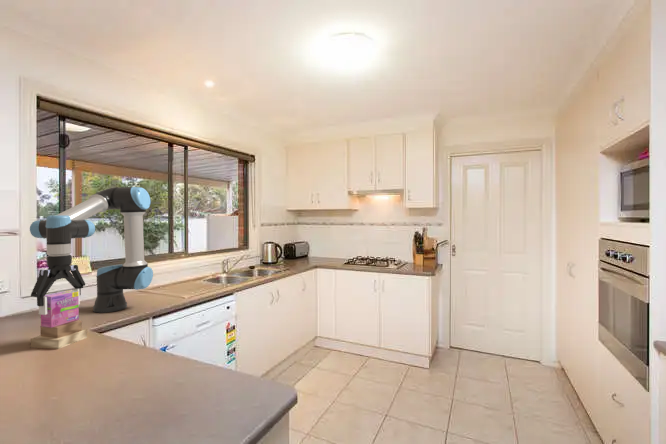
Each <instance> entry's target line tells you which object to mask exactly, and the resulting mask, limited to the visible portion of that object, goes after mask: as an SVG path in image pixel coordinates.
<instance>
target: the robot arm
mask: <svg viewBox="0 0 666 444" xmlns="http://www.w3.org/2000/svg"><path fill="white" fill-rule="evenodd" d="M150 206H151V196H150V194H149V192H148V191H147V189H145V188H143V187H139V186H128V187H127V186H123V187H122V186H121V187H120V186H118V187H117V186H114V187H109V188H105V189H103V190H100V191H98V192H96V193H94V194H91V195H90V196H89V197H88V199H87V200H84V201H82V202H80V203H78V204H76V205H74V206H72V207H70V208H68V209H66V210H64V211H61V212H60V213H58V214H56V215H54V214H53V215H51V214H50V215H47V217H46V219H40V220H34V221H32V223H31V224H30V226H29V233H30V235H31V236H32V237H34V238H37V239H45V240H46V255H47V257H46V265H47V267H48V269H40V270H39V273H38V277H37V279H36V281H35V284H34V286H33V288H32V290H31V293H30V297H33V298H36V306H37V307H38V315H40V316H41V315H46V314H47V297H44V296H45V295H47V293H48V292H49V290H50V289H51V287H52V286H53V284H54V283H55V282H56V281H58V280H62V279H65V280H66V281H67V282H68V283H69V284H70V285H71V287H73V288H72V289H71V290H73V291H79V306H80V305H81V300H80V299H81V298H80V297H81V293H82V291H81V289H83V288H84V287H85V286H86V282H85V280H84V279H83V277H82V274H81V272H80V270H79V266H78V265H77V264H72V262H73V259H72V258H73V257H72V254H73V253H72V239H85V238H90V237H92V236H94V234H95V232H96V226H95V224H94V222H92V221H91V220H89V218H91V217H93V216H95V215H96V214H99V213H104V212H106V211H110V210H119V213H120V215H122V216H123V229H124V251H125V252H124V254H125V257H124V258H125V261H124V263H121V264H120V263H119V264H114V265H113V264H112V265H107V266H102V267H101V266H100V267H99V268H97V270H96V298H95V301H94V303H93V305H92V306H93V307H92V312H94V313H97V314H98V313H99V314H101V313H112V312H119V311H121V310H125V309H127V308H128V302H127V301H126V297H125V294H124V290H134V291H136V290H137V291H138V290H145V289H148V287H149V286H150V285H151V283H152V281H153V277H154V271H153V269H152V268H151V267H150V266H148V265H149V264H148V263H149V262H147V261H146V260H145V240H144V220H143V219H144V215H145V214H146V213H147V210H148V209H149V208H150Z"/></svg>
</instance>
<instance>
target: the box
mask: <svg viewBox="0 0 666 444" xmlns="http://www.w3.org/2000/svg"><path fill="white" fill-rule="evenodd" d="M44 297H47V314H46V315H40V326H41V327H48V328H52V327H56V326H59V325H63V324H66V323H69V322H73V321H76V320H79V321H80V318H79V317H80V316H79V313H80V312H79V310H80V309H79V308H80V307H79V306H80V305H79V291H73V290H72V289H71V290H69V289H68V290H64V291H59V292H54V293H49V294H46V295H45V296H44Z"/></svg>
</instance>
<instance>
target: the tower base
mask: <svg viewBox="0 0 666 444" xmlns="http://www.w3.org/2000/svg"><path fill="white" fill-rule="evenodd" d="M87 338H88V329H83V328H82V331H79V332H76V333H73V334H70V335H67V336H64V337H60V338H51V337H43V336H41V334H40V335H37V336H35V337H32V338H30V348H35V349H36V348H37V349H53V350H60V349H62V348H65V347H66V346H69V345H72V344H74V343H77V342H80V341H82V340H85V339H87Z"/></svg>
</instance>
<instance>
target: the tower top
mask: <svg viewBox="0 0 666 444" xmlns="http://www.w3.org/2000/svg"><path fill="white" fill-rule="evenodd" d="M82 323H83V321H82V320H80V319H79V320H76V321H73V322H69V323H66V324H63V325H59V326H56V327H52V328H48V327H41V325H40V335H41V336H43V337H51V338H60V337H64V336H67V335H70V334H73V333H76V332H79V331H82V329H83V327H82V326H83V325H82Z"/></svg>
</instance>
